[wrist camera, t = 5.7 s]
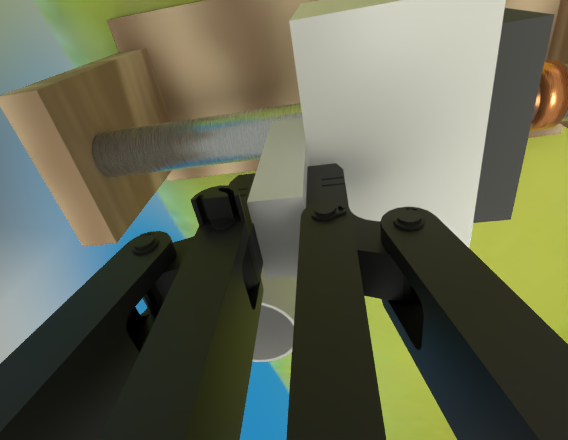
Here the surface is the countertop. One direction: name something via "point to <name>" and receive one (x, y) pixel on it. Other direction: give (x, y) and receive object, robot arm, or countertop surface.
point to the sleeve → (399, 99)
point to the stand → (172, 97)
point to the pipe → (255, 133)
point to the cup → (275, 319)
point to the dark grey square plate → (511, 110)
